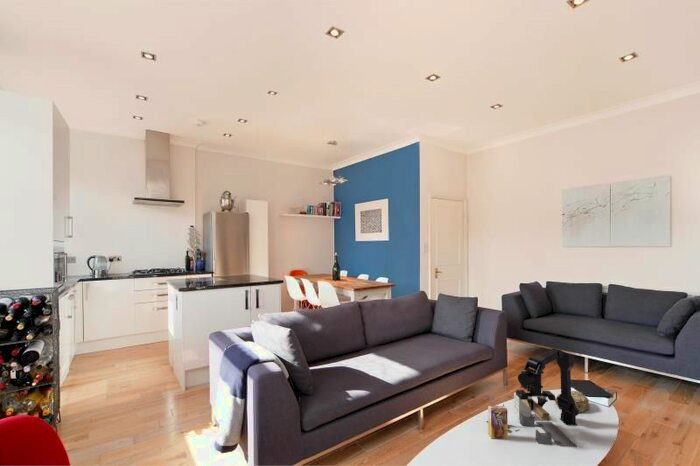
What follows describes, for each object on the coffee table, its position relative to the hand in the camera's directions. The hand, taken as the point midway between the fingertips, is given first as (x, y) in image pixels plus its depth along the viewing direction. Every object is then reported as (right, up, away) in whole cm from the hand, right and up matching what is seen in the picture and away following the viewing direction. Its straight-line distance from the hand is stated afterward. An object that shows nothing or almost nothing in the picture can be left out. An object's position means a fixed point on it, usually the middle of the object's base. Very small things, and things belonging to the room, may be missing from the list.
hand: (535, 410), depth 178 cm
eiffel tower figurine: (-15, -13, +7) cm, 20 cm away
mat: (+11, -12, 0) cm, 16 cm away
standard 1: (0, -12, +8) cm, 14 cm away
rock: (+41, -14, +30) cm, 52 cm away
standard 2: (0, -12, -8) cm, 14 cm away
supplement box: (+2, -13, +17) cm, 21 cm away
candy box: (-22, -12, -4) cm, 25 cm away
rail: (0, 0, 0) cm, 0 cm away
